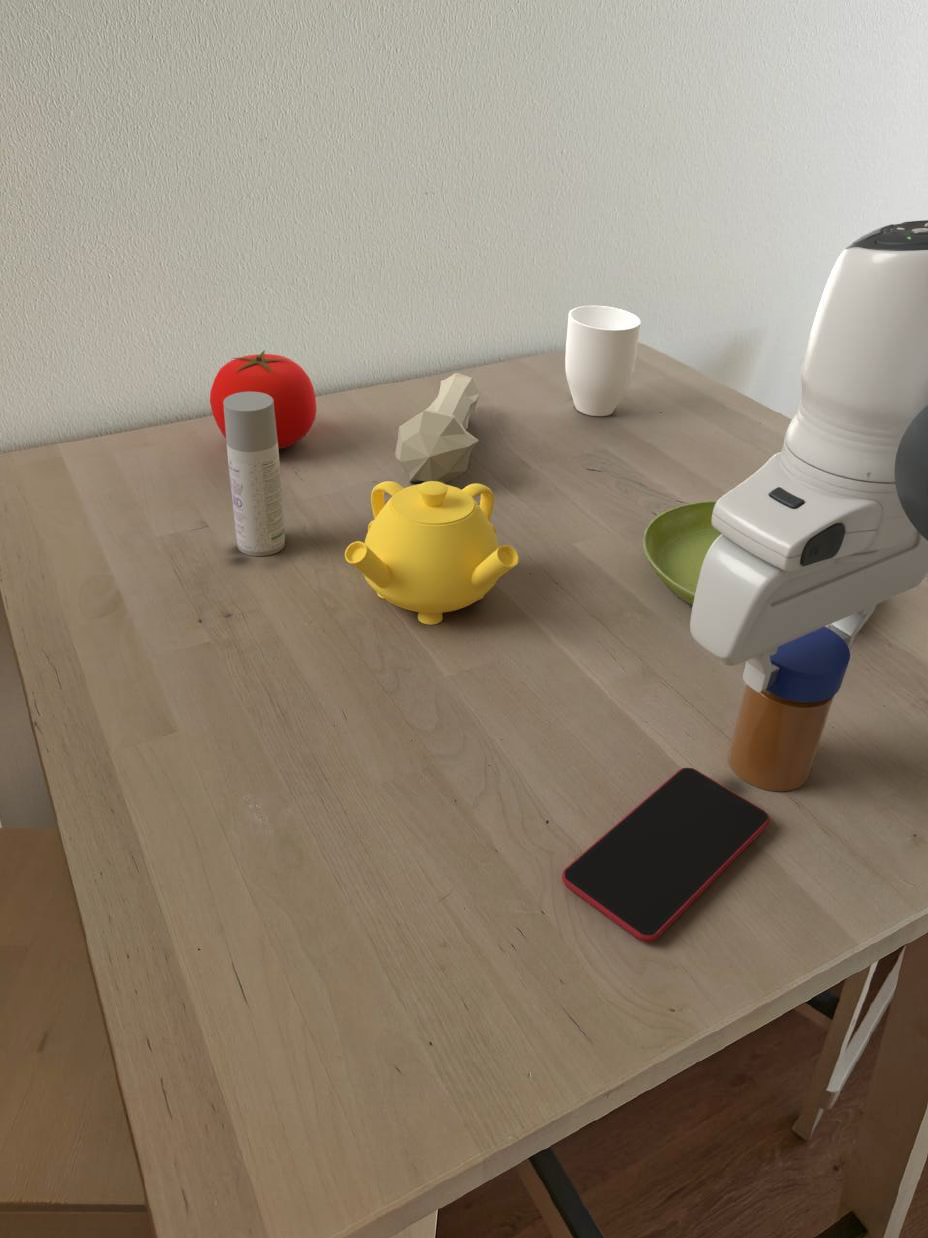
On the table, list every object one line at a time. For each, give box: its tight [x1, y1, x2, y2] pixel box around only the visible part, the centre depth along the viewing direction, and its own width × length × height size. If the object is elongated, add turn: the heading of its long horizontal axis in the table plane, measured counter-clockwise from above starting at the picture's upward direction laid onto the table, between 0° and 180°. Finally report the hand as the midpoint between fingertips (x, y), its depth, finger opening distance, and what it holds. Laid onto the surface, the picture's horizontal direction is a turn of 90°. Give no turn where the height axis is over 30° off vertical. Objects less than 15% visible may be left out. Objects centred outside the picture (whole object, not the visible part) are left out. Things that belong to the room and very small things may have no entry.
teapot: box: [344, 480, 520, 626], centre depth 90 cm, size 14×14×11 cm
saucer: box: [642, 500, 722, 606], centre depth 97 cm, size 21×21×3 cm
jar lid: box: [765, 627, 851, 702], centre depth 71 cm, size 6×6×2 cm
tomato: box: [209, 349, 317, 450], centre depth 115 cm, size 12×12×10 cm
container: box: [223, 392, 286, 557], centre depth 95 cm, size 5×5×15 cm
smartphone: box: [561, 767, 770, 943], centre depth 68 cm, size 7×1×15 cm
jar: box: [727, 684, 836, 792], centre depth 73 cm, size 6×6×10 cm
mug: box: [564, 305, 641, 417], centre depth 128 cm, size 12×9×12 cm
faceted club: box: [394, 372, 481, 485], centre depth 117 cm, size 9×8×25 cm
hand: (796, 667), depth 71 cm, fingers closed on jar lid, 6 cm apart
